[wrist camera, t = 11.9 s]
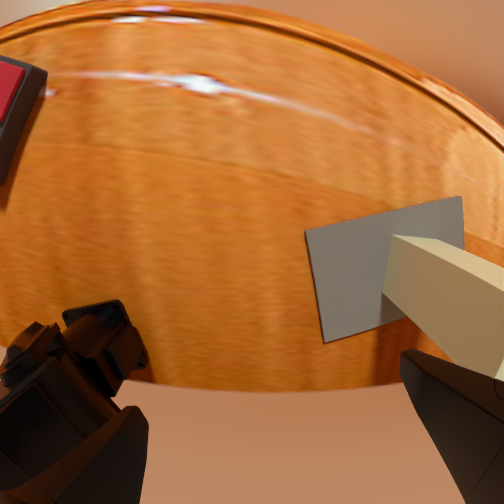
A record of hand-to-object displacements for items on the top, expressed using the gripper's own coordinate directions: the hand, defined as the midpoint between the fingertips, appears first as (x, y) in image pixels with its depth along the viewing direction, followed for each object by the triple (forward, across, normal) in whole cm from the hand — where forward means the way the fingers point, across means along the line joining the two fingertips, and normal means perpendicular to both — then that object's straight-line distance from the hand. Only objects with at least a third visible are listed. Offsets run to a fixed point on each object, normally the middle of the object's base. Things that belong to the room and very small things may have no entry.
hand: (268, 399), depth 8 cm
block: (+12, -12, +2) cm, 17 cm away
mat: (+13, -11, +2) cm, 17 cm away
